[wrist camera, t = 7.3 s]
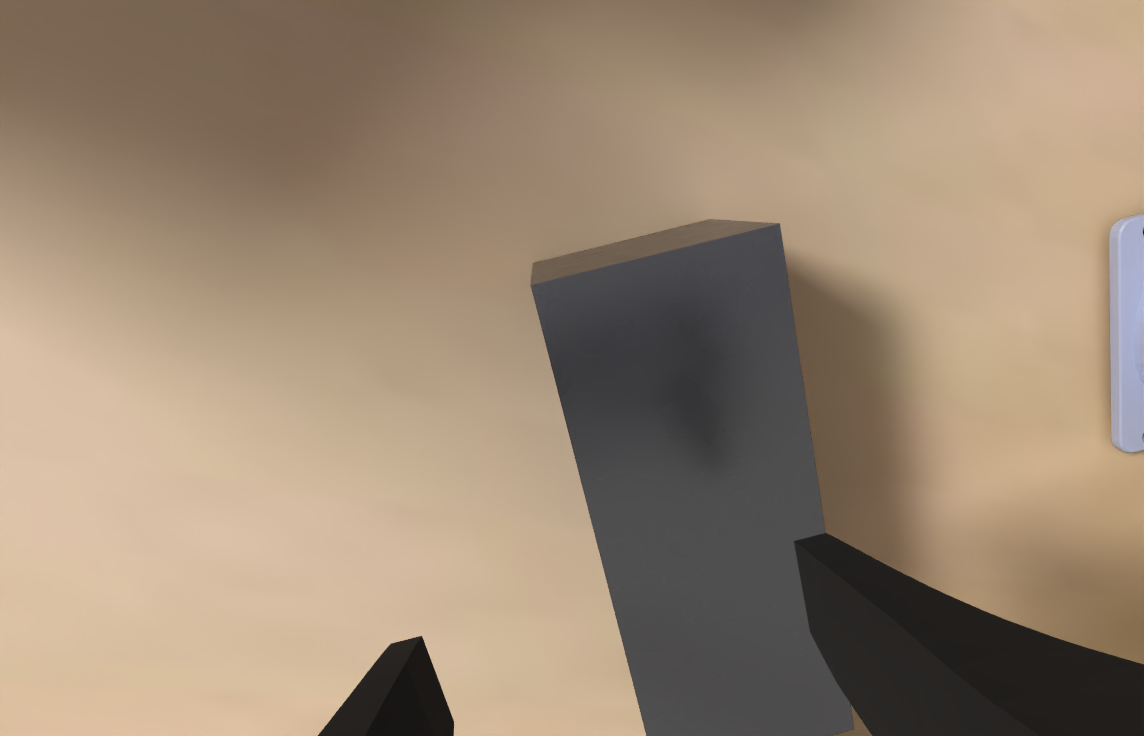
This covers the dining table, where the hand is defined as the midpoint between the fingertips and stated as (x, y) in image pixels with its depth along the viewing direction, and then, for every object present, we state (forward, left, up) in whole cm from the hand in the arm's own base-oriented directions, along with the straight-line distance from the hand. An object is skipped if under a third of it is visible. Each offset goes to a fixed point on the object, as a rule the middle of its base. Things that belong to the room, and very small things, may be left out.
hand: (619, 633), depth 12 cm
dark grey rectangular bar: (-3, +1, -9) cm, 10 cm away
